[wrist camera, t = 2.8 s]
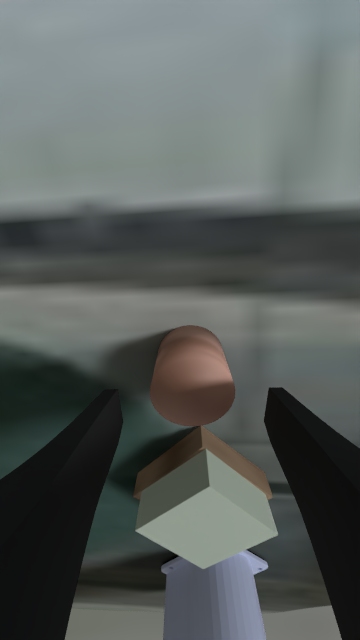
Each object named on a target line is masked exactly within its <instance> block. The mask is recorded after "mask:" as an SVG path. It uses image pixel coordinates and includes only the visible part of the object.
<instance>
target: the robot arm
mask: <svg viewBox="0 0 360 640" xmlns="http://www.w3.org/2000/svg"><path fill="white" fill-rule="evenodd" d="M264 422H265V426H266V429H267V433H268V436H269V439H270V442H271V444H272V447H273V449H274V451H275V454H276V456H277V458H278V461H279V463H280V465H281V467H282V470H283V472H284V474H285V476H286V479H287V481H288V483H289V485H290V488H291V490H292V492H293V494H294V497H295V499H296V502H297V504H298V507H299V509H300V512H301V514H302V517H303V520H304V523H305V526H306V529H307V531H308V534H309V537H310V540H311V543H312V546H313V549H314V552H315V555H316V558H317V561H318V564H319V567H320V570H321V573H322V576H323V579H324V582H325V585H326V589H327V592H328V595H329V598H330V601H331V605H332V608H333V611H334V614H335V617H336V621H337V624H338V627H339V631H340V634H341V638H342V640H360V448H358V447H357V446H355V445H354V444H352V443H351V442H350V441H348V440H347V439H346V438H344V437H343V436H342V435H340V434H339V433H338V432H336V431H335V430H334V429H332V428H331V427H330V426H328V425H327V424H326V423H325V422H323V421H322V420H321V419H320V418H318V417H317V416H316V415H315V414H313V413H312V412H311V411H310V410H309V409H307V408H306V407H305V406H304V405H303V404H301V403H300V402H299V401H298V400H297V399H295V398H294V397H293V396H292V395H291V394H290V393H288V392H287V391H286V390H285V389H283V388H269V391H268V397H267V404H266V410H265V417H264ZM122 424H123V418H122V412H121V407H120V401H119V395H118V389H114V390H104V391H103V392H102V393H101V394H100V395H99V396H98V397H97V398H96V399H95V400H94V401H93V402H92V403H91V404H90V405H89V406H88V407H87V408H86V409H85V410H84V411H83V412H82V413H81V414H80V415H79V416H78V417H77V418H76V419H75V420H74V421H73V422H72V423H70V424H69V425H68V426H67V427H66V428H65V429H64V430H63V431H62V432H61V433H59V434H58V435H57V436H56V437H55V438H54V439H53V440H52V441H50V442H49V443H48V444H47V445H46V446H45V447H43V448H42V449H41V450H40V451H38V452H37V453H36V454H35V455H33V456H32V457H31V458H29V459H28V460H27V461H26V462H24V463H23V464H22V465H20V466H19V467H18V468H16V469H15V470H13V471H12V472H11V473H9V474H8V475H6V476H5V477H4V478H2V479H1V480H0V640H64V639H65V635H66V630H67V626H68V621H69V616H70V612H71V608H72V603H73V599H74V595H75V590H76V586H77V582H78V577H79V573H80V569H81V565H82V561H83V557H84V553H85V549H86V545H87V541H88V537H89V533H90V529H91V525H92V521H93V518H94V514H95V510H96V507H97V504H98V501H99V497H100V494H101V492H102V489H103V486H104V483H105V480H106V477H107V474H108V472H109V469H110V466H111V463H112V460H113V457H114V454H115V451H116V448H117V445H118V442H119V438H120V434H121V429H122ZM267 568H268V565H267V562H266V561H264V560H263V559H261V558H259V557H258V556H256V555H254V554H253V553H251V552H249V551H247V550H244V551H242V552H240V553H238V554H235V555H233V556H231V557H229V558H227V559H225V560H222V561H220V562H218V563H216V564H214V565H212V566H209V567H207V568H205V569H202V568H200V567H198V566H197V565H195V564H193V563H191V562H189V561H188V560H186V559H184V558H182V557H181V556H178V557H177V558H175V559H173V560H171V561H169V562H167V563H165V564H164V565H162V566H161V571H162V572H163V573H165V574H167V575H166V594H165V613H164V633H163V640H266V635H265V630H264V625H263V620H262V615H261V610H260V605H259V600H258V595H257V590H256V585H255V580H254V576H253V575H254V574H256V573H259V572H261V571H263V570H265V569H267Z"/></svg>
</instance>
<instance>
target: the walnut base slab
mask: <svg viewBox="0 0 360 640" xmlns="http://www.w3.org/2000/svg"><path fill="white" fill-rule="evenodd" d="M205 449H207V450H208V451H210V452H211V453H212V454H214V455H215V456H216V457H218V458H219V459H220V460H222V461H223V462H224V463H225V464H227V465H228V466H229V467H231V468H232V469H233V470H235V471H236V472H237V473H238V474H240V475H241V476H242V477H244V478H245V479H246V480H248V481H249V482H250V483H252V484H253V485H254V486H255V487H257V488H258V489H259V490H261V491H262V492H263V493H265V494H266V497H267V500H269V499H271V498H272V497H273V496H272V493H271V490H270V487H269V484H268V481H267V478H266V475H265V472H263V471H262V470H261V469H259V468H258V467H257V466H255V465H254V464H253V463H251V462H250V461H249V460H247V459H246V458H244V457H243V456H242V455H240V454H239V453H238V452H236V451H235V450H234V449H232V448H231V447H230V446H228V445H227V444H226V443H224V442H223V441H222V440H220V439H219V438H217V437H216V436H215V435H213V434H212V433H211V432H209V431H208V430H207V429H205V428H204V427H203V426H199V427H198V428H196V429H195V430H194V431H192V432H191V433H190V434H188V435H187V436H186V437H184V438H183V439H182V440H180V441H179V442H178V443H176V444H175V445H174V446H173V447H171V448H170V449H169V450H167V451H166V452H165V453H163V454H162V455H161V456H159V457H158V458H157V459H155V460H154V461H153V462H151V463H150V464H149V465H147V466H146V467H145V468H143V469H142V470H141V471H140V472H138V474H137V479H136V484H135V489H134V494H133V497H134V498H136V499H138V500H140V499H141V493H142V491H143V490H144V489H146V488H147V487H149V486H150V485H152V484H153V483H155V482H156V481H158V480H159V479H161V478H162V477H164V476H165V475H167V474H168V473H170V472H171V471H173V470H175V469H176V468H178V467H179V466H181V465H182V464H184V463H185V462H187V461H188V460H190V459H191V458H193V457H194V456H196V455H197V454H199V453H200V452H202V451H203V450H205Z"/></svg>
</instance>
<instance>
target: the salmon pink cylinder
mask: <svg viewBox="0 0 360 640" xmlns="http://www.w3.org/2000/svg"><path fill="white" fill-rule="evenodd" d="M150 397H151V401H152V404H153V406H154V408H155V409H156V410H157V412H158V413H159V414H160V415H161V416H163V417H164V418H165V419H167V420H169V421H171V422H173V423H176V424H179V425H184V426H201V425H206V424H209V423H212V422H214V421H216V420H218V419H219V418H221V417H222V416H223V415H224V414H225V413H226V412H227V411H228V410H229V409H230V407H231V406H232V404H233V401H234V398H235V386H234V382H233V380H232V377H231V374H230V371H229V368H228V365H227V362H226V359H225V356H224V353H223V350H222V347H221V344H220V342H219V340H218V338H217V337H216V336H215V335H214V334H213V333H212V332H211V331H209V330H207V329H205V328H203V327H199V326H192V325H189V326H182V327H179V328H176V329H174V330H172V331H171V332H169V333H168V334H167V335H166V336H165V337H164V338H163V340H162V342H161V344H160V347H159V350H158V355H157V359H156V364H155V368H154V373H153V378H152V382H151V387H150Z"/></svg>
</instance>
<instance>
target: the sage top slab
mask: <svg viewBox="0 0 360 640" xmlns="http://www.w3.org/2000/svg"><path fill="white" fill-rule="evenodd" d="M135 531H136V532H138V533H140V534H142V535H143V536H145V537H147V538H149V539H150V540H152V541H154V542H156V543H158V544H159V545H161V546H163V547H165V548H166V549H168V550H170V551H172V552H174V553H175V554H177V555H179V556H181V557H182V558H184V559H186V560H188V561H189V562H191V563H193V564H195V565H197V566H198V567H200V568H202V569H205V568H207V567H209V566H212V565H214V564H216V563H218V562H220V561H222V560H225V559H227V558H229V557H231V556H233V555H235V554H238V553H240V552H242V551H244V550H246V549H248V548H251V547H253V546H255V545H257V544H259V543H261V542H264V541H266V540H268V539H270V538H272V537H275V536H277V535H278V533H277V529H276V526H275V523H274V520H273V517H272V513H271V510H270V507H269V504H268V500H267V497H266V494H265V493H263V492H262V491H261V490H259V489H258V488H257V487H255V486H254V485H253V484H252V483H250V482H249V481H248V480H246V479H245V478H244V477H242V476H241V475H240V474H238V473H237V472H236V471H235V470H233V469H232V468H231V467H229V466H228V465H227V464H225V463H224V462H223V461H222V460H220V459H219V458H218V457H216V456H215V455H214V454H212V453H211V452H210V451H208V450H207V449H205V450H203V451H202V452H200V453H199V454H197V455H196V456H194V457H193V458H191V459H190V460H188V461H187V462H185V463H184V464H182V465H181V466H179V467H178V468H176V469H175V470H173V471H171V472H170V473H168V474H167V475H165V476H164V477H162V478H161V479H159V480H158V481H156V482H155V483H153V484H152V485H150V486H149V487H147V488H146V489H144V490H143V491H142V493H141V499H140V504H139V510H138V516H137V522H136V528H135Z"/></svg>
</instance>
